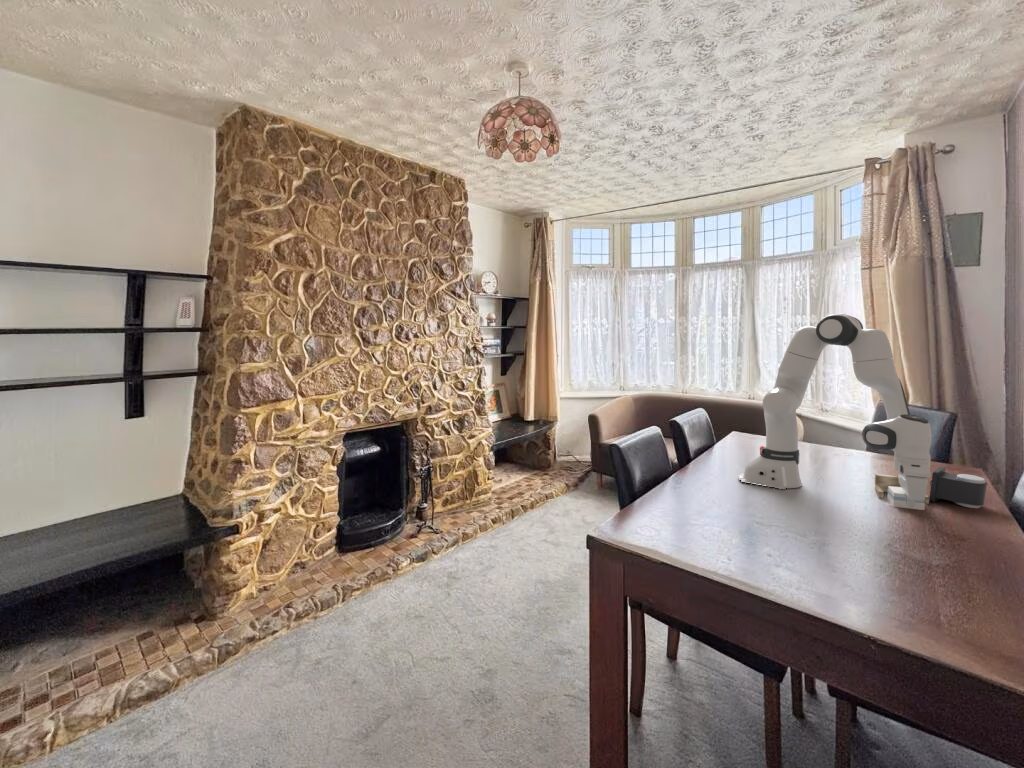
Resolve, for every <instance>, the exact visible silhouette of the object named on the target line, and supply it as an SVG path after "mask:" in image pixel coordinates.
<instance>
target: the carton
mask: <svg viewBox="0 0 1024 768" xmlns="http://www.w3.org/2000/svg"><path fill="white" fill-rule="evenodd" d="M887 500H888V502H889V503H890V504H891V505H892V507H894V508H904V509H913V510H920V511H921V510H922V511H925V505H926V504H925V499H924V501H915V504H914V507H908V506H907V504H906V503H905V501H906V498H905V492H904V490H903V489H902V487H893V486H888V492H887Z"/></svg>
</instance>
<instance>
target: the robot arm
mask: <svg viewBox="0 0 1024 768" xmlns="http://www.w3.org/2000/svg"><path fill="white" fill-rule="evenodd" d="M829 345H830V346H832V345H833V346H843V347H847V348H848V349H849V351H850V353H851V359H852V367H853V373H854V375H855V378H856V380H857V381H858V382H860V383H861V384H862V385H864V386H866V387H868V388H871V389H873V390H875V391H876V392H878V393H879V395H880V396H881V399H882V401H883V405H884V411H885V413H886V420H882V421H881V420H880V421H874V422H872V423H868V424H867V425H865V426H864V427H863V429H862V432H861V436H862V441H863V442H864V444H865V445H866V446H867V447H869V448H870V449H873V450H877V451H887V450H889V451H893V452H894V456H893V459H894V460H893V468H894V469H895V470H897V471H898V475H897V476H898V482H899V484H900V486H901V487H902V489H903V490H904V492H905V498H906V501H905V503H906V504H907V506H908V507H914V504H915V501H924V499H925V497H926V494H927V488H928V480H929V479H930V478H931V477H932V476H931V473H932V472H931V458H932V457H931V454H930V448H931V446H932V427H931V424H930V421H929V420H928V419H926V418H925V417H922V416H919V415H914V414H911V413H910V409H909V405H908V402H907V398H906V394H905V390H904V387H903V384H902V382H901V380H900V377H899V376H898V373H897V369H896V367H895V361H894V355H893V351H892V346H891V343H890V341H889V337H888V336H887V334H886V332H885V331H883V330H882V329H878V328H864V325H863V323H862V322H861V321H860V319H858V318H857V317H854V316H851V315H849V314H838V313H835V314H834V313H833V314H830V315H826V316H825V317H822V318H821V319H820V320H819V321H818V323H817V325H816V326H811V325H807V326H805V325H804V326H802V327H800V328H798V329H797V331H796V332H795V334H793V336H792V338H791V340H790V341H789V343H788V346H787V348H786V351H785V353H784V356H783V357H782V360H781V363H780V364H779V368H778V370H777V376H776V379H775V383H774V386H773V389H772V390H770V391H769V390H768V391H767V392H766V393H765V395H764V396H763V398H762V409H763V416H764V423H765V432H766V433H765V446H764V445H760V446H759V453H760V454H759V456H757V457H756V458H754V459H752V460H750V461H749V462H747V463H746V466H745V468H744V472H742V473H740V474H739V475H738V478H739V479H740V478H743V479H740V480H742V481H745V482H750V483H756V484H761V485H766V486H770V487H775V488H779V489H778V490H781V489H783V490H787V489H797V488H801V487H802V486H803V482H802V480H801V479H802V478H801V475H800V469H799V464H800V449H799V427H798V421H797V410H798V409H799V408H800V407H801V405H802V402H803V400H804V397H805V394H806V392H807V388H808V385H809V382H810V379H811V378H812V375H813V373H814V371H815V368H816V366H817V363H818V361H819V359H820V357H821V354H822V352H823V350H824V349H825V348H826V347H827V346H829ZM928 478H929V479H928ZM739 479H738V480H739ZM775 488H774V489H775ZM786 488H787V489H786Z"/></svg>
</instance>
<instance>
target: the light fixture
mask: <svg viewBox="0 0 1024 768" xmlns="http://www.w3.org/2000/svg"><path fill="white" fill-rule="evenodd" d="M929 486H930V492H929V502H933V503H936V502H937V501H938V500H939V499H942V500H947V501H950V502H951V501H952V502H953V503H954V504H956V505H958V506H961V507H963V508H965V507H966V508H969V509H981V508H982V506H984V504H985V500H986V499H985V498H986V491H987V487H988V483H987V482H986V479H985V478H984V477H981V476H978V475H973V474H967V473H966V474H965V473H959V474H955V473H951V472H946V466H939V467H937V468H936V469H934V470H933V471H932V476H931V479H930V480H929ZM980 507H981V508H980Z"/></svg>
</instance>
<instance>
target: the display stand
mask: <svg viewBox="0 0 1024 768" xmlns="http://www.w3.org/2000/svg"><path fill="white" fill-rule="evenodd" d="M874 475H875V476H874V491H875V493H876V495H877V497H878V499H884V492H885V493H888V486H893V487H901V486H900V484H899V482H898V475H888V474H877V473H875V474H874ZM929 498H930V495H928V493H926V497H925V505H926V504H927V505H929V504H930V501H929Z"/></svg>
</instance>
